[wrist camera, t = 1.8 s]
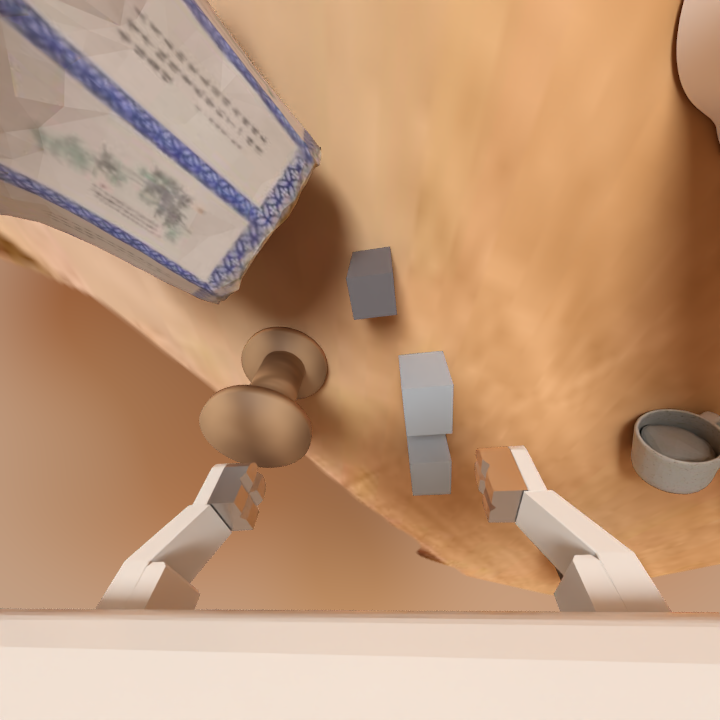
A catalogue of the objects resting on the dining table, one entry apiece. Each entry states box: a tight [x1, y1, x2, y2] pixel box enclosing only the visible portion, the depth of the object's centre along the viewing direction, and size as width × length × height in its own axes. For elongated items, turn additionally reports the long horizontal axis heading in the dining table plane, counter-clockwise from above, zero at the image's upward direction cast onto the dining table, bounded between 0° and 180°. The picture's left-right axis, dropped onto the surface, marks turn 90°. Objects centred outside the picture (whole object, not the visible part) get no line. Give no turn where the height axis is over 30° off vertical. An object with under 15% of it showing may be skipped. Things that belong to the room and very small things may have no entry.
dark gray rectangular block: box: [346, 247, 397, 320], centre depth 26 cm, size 4×4×7 cm
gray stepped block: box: [399, 351, 453, 496], centre depth 37 cm, size 5×19×6 cm, turn 9°
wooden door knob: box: [199, 327, 327, 468], centre depth 32 cm, size 10×10×11 cm
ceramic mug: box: [631, 409, 720, 494], centre depth 36 cm, size 11×8×8 cm
